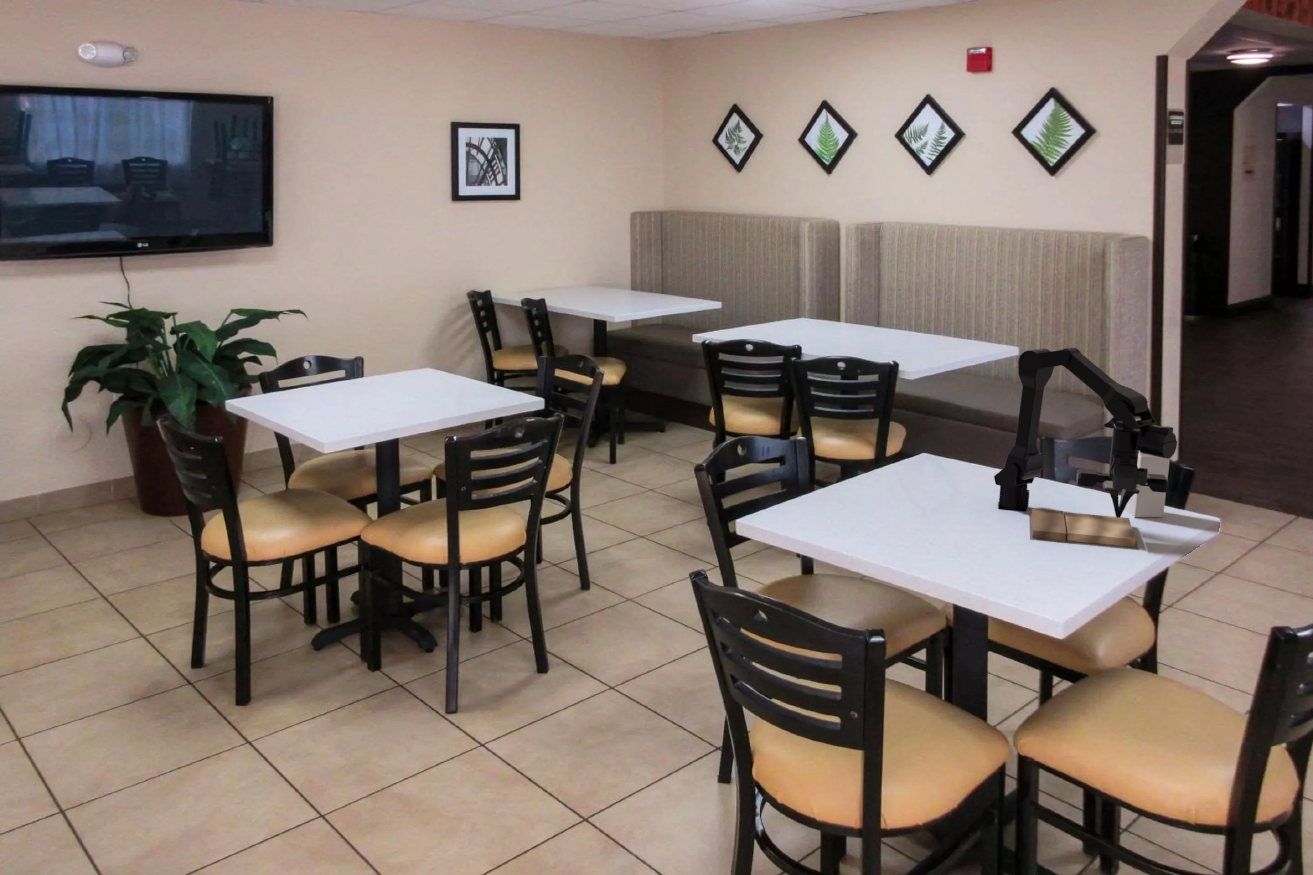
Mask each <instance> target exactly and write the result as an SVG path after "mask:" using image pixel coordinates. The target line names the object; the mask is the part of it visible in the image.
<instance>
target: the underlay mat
mask: <svg viewBox="0 0 1313 875" xmlns="http://www.w3.org/2000/svg"><path fill="white" fill-rule="evenodd" d="M1028 518H1029V519H1028V520H1029V540H1031V541H1040V542H1049V543H1050V542H1052V543H1062V544H1071V545H1080V546H1081V545H1082V546H1092V547H1101V548H1112V549H1122V550H1123V549H1124V550H1135V551H1140V548H1139V546H1138V545H1139V544H1138V542H1137V541H1136V542H1135V547H1127V546H1117V545H1107V544H1097V543H1086V542H1076V541H1067V537H1066V542H1065V541H1055V540H1044V539H1034V538H1032V514H1029V517H1028Z"/></svg>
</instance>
